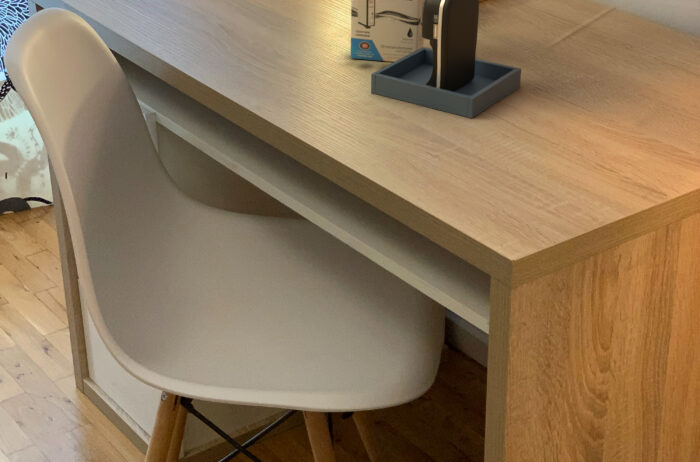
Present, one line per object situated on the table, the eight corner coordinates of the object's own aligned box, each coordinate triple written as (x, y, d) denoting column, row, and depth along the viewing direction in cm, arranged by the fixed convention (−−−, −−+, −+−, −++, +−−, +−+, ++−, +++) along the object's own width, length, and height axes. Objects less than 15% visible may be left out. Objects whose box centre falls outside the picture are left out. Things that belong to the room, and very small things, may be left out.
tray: (520, 87, 124) (521, 68, 122) (472, 118, 116) (473, 98, 114) (422, 64, 130) (423, 46, 129) (370, 92, 122) (370, 73, 121)
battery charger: (448, 73, 126) (453, -23, 121) (476, 80, 124) (482, -18, 119) (415, 90, 121) (418, -9, 116) (443, 98, 119) (447, -3, 114)
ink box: (349, 59, 132) (348, -36, 126) (358, 46, 136) (358, -47, 131) (417, 64, 130) (420, -32, 125) (424, 51, 134) (427, -43, 129)
